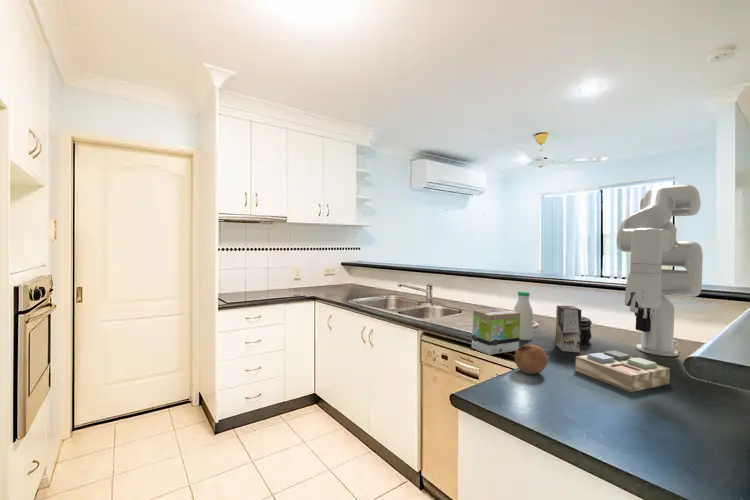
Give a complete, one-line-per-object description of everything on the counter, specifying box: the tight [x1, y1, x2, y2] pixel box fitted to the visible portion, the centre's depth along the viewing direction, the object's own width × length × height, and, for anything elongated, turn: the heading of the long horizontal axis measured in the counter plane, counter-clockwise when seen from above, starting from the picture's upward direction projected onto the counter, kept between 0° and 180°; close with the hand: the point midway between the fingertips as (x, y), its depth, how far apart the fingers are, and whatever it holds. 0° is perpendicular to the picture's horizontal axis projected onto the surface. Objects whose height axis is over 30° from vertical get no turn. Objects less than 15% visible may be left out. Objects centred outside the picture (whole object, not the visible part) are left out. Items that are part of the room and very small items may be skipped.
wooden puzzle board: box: [575, 352, 671, 393], centre depth 108 cm, size 17×17×5 cm
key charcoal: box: [603, 349, 631, 361], centre depth 113 cm, size 5×5×3 cm
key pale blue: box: [587, 352, 614, 364], centre depth 110 cm, size 5×5×3 cm
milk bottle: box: [513, 290, 534, 341], centre depth 151 cm, size 8×8×20 cm
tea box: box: [471, 307, 520, 356], centre depth 134 cm, size 15×10×15 cm, turn 117°
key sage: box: [628, 357, 657, 369], centre depth 106 cm, size 5×5×3 cm
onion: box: [514, 344, 549, 375], centre depth 111 cm, size 10×9×10 cm
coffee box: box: [555, 305, 582, 353], centre depth 137 cm, size 9×6×16 cm
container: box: [580, 315, 593, 346], centre depth 148 cm, size 13×13×10 cm
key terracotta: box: [614, 366, 637, 372], centre depth 104 cm, size 5×5×3 cm
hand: (642, 330), depth 106 cm, fingers closed
